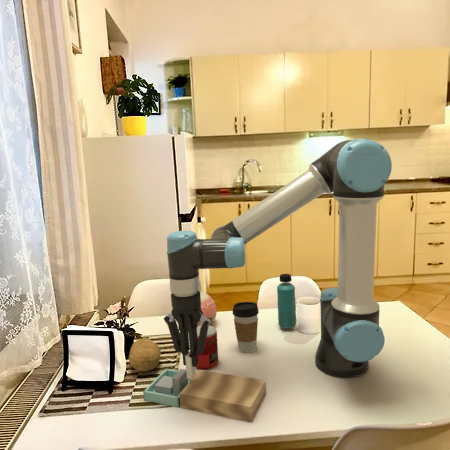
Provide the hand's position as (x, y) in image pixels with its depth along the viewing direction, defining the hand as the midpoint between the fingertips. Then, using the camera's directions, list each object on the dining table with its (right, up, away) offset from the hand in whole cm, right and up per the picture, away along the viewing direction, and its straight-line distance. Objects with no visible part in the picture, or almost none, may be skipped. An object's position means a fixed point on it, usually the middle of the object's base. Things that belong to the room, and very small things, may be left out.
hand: (191, 376), depth 110 cm
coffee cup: (+16, 0, +25) cm, 30 cm away
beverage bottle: (+31, +3, +38) cm, 49 cm away
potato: (-15, -4, +17) cm, 23 cm away
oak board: (+9, -6, -2) cm, 10 cm away
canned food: (+3, -3, +17) cm, 17 cm away
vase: (-1, +2, +45) cm, 45 cm away
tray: (-6, -5, +3) cm, 8 cm away
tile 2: (-2, -2, +1) cm, 3 cm away
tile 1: (-7, -3, +3) cm, 8 cm away
